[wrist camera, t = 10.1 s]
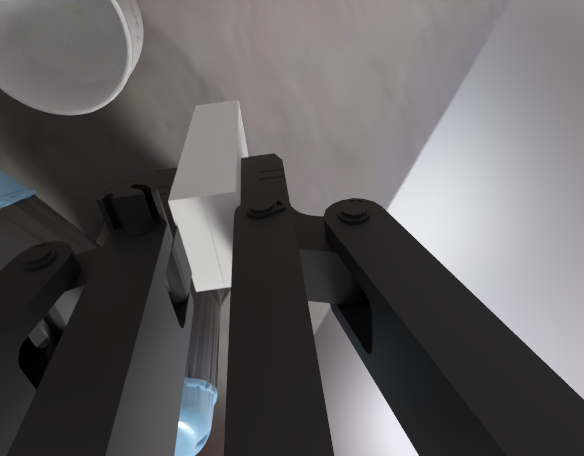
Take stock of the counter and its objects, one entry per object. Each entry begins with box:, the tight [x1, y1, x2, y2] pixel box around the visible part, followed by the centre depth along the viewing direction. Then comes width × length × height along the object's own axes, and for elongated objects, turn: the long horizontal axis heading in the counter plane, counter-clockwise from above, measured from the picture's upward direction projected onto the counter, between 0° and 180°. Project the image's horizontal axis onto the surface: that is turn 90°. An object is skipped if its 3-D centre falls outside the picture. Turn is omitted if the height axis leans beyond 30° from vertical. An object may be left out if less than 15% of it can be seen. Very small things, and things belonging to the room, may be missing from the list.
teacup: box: [0, 0, 143, 115], centre depth 30 cm, size 14×11×8 cm
